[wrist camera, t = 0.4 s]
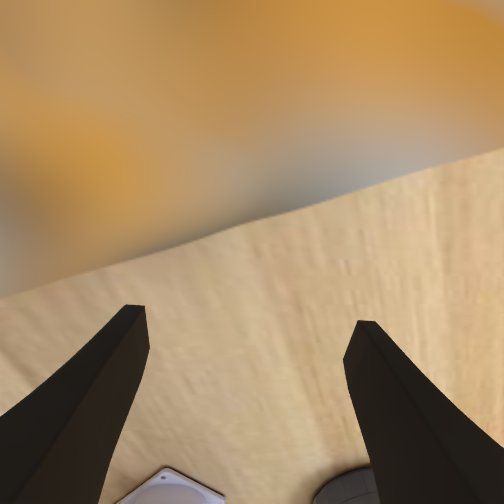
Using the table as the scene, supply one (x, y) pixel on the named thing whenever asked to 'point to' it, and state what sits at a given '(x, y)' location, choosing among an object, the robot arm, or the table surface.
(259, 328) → the table surface
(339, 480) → the basin
